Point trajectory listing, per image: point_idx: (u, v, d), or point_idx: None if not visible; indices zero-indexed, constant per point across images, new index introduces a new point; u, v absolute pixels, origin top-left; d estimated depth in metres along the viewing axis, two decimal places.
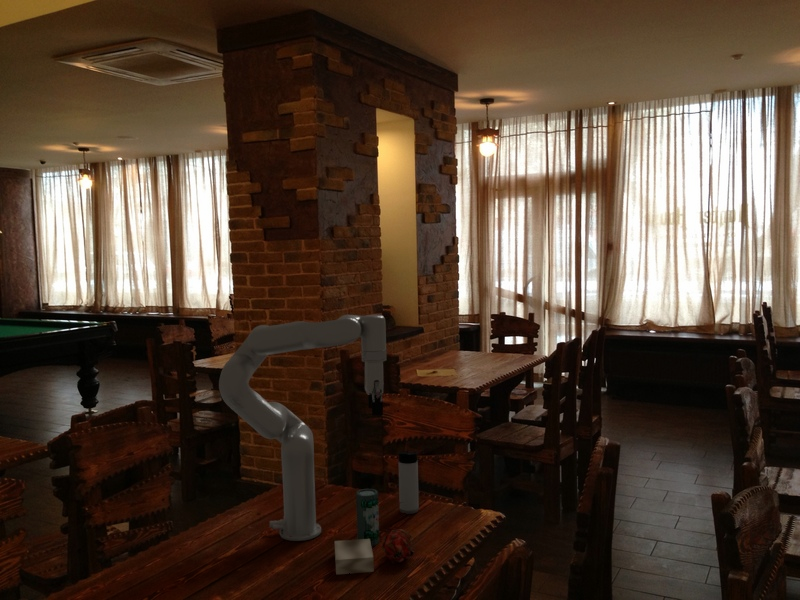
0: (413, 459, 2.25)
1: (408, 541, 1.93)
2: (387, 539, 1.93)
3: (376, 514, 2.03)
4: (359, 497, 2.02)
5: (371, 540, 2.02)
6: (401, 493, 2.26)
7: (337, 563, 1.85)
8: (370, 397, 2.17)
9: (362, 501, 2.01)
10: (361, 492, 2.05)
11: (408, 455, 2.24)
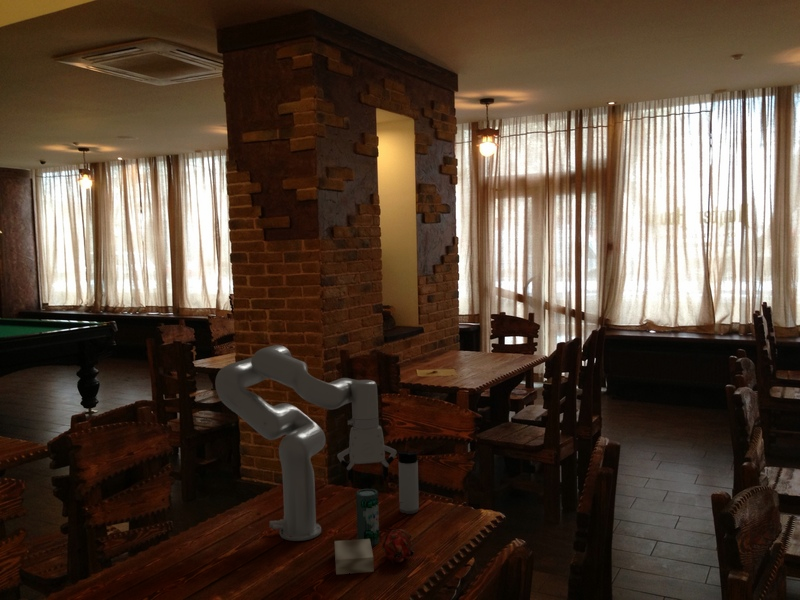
0: (413, 459, 2.25)
1: (408, 541, 1.93)
2: (387, 539, 1.93)
3: (376, 514, 2.03)
4: (359, 497, 2.02)
5: (371, 540, 2.02)
6: (401, 493, 2.26)
7: (337, 563, 1.85)
8: (352, 471, 2.02)
9: (362, 501, 2.01)
10: (361, 492, 2.05)
11: (408, 455, 2.24)
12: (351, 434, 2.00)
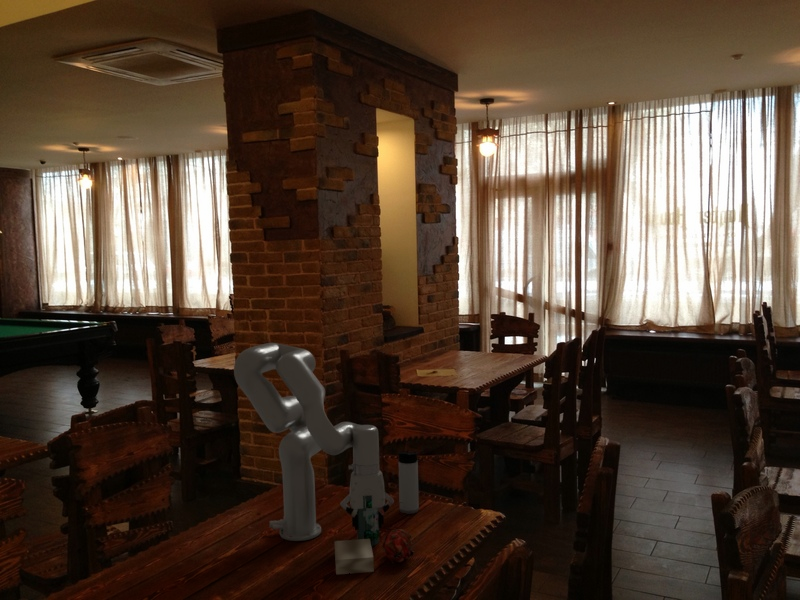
0: (413, 459, 2.25)
1: (408, 541, 1.93)
2: (387, 539, 1.93)
3: (376, 514, 2.03)
4: None
5: (371, 540, 2.02)
6: (401, 493, 2.26)
7: (337, 563, 1.85)
8: None
9: None
10: None
11: (408, 455, 2.24)
12: (352, 479, 2.01)
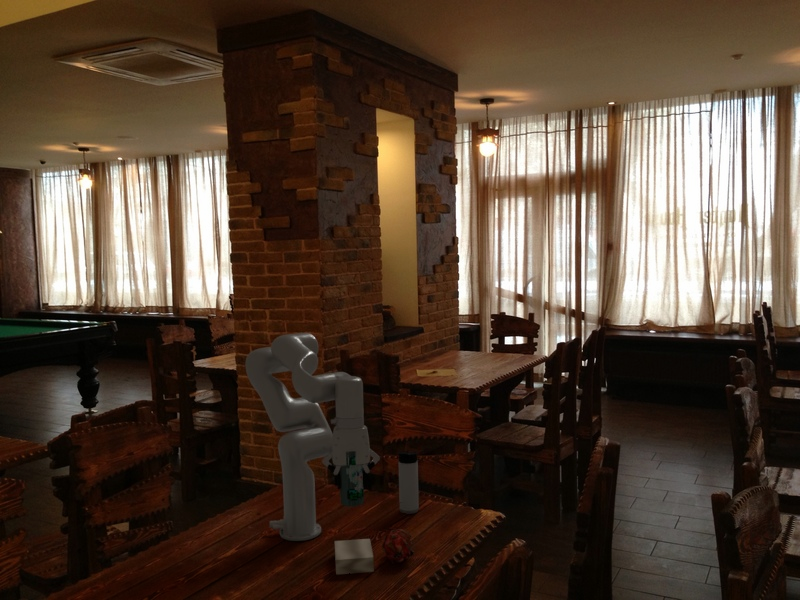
0: (413, 459, 2.25)
1: (408, 541, 1.93)
2: (387, 539, 1.93)
3: (360, 472, 1.88)
4: None
5: (355, 500, 1.88)
6: (401, 493, 2.26)
7: (337, 563, 1.85)
8: (339, 476, 1.89)
9: None
10: None
11: (408, 455, 2.24)
12: (334, 434, 1.87)
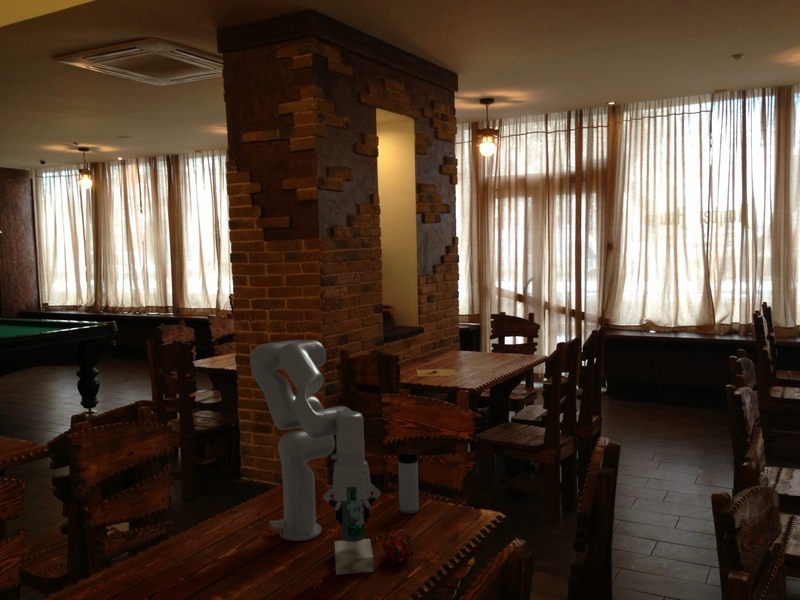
0: (413, 459, 2.25)
1: (408, 541, 1.93)
2: (387, 539, 1.93)
3: (361, 507, 1.89)
4: None
5: (356, 535, 1.88)
6: (401, 493, 2.26)
7: (337, 563, 1.85)
8: (340, 512, 1.89)
9: None
10: None
11: (408, 455, 2.24)
12: (335, 470, 1.87)
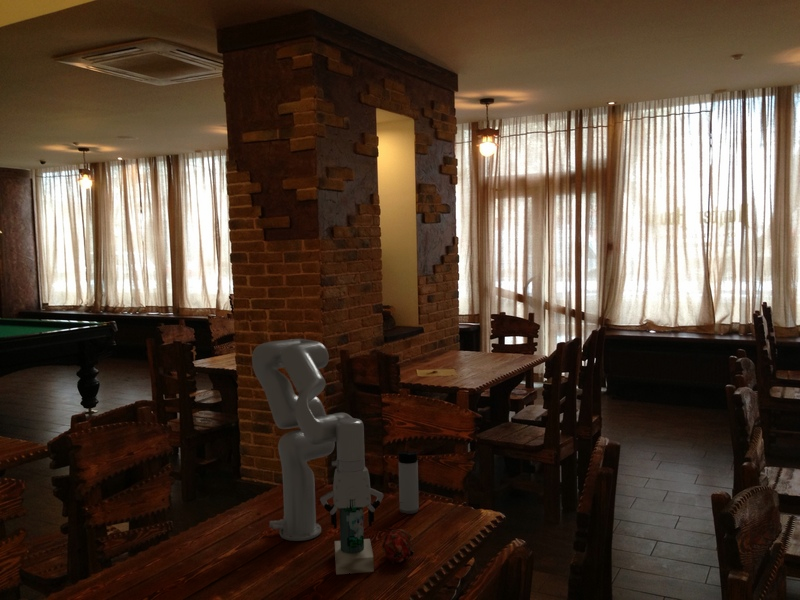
0: (413, 459, 2.25)
1: (408, 541, 1.93)
2: (387, 539, 1.93)
3: (360, 519, 1.89)
4: None
5: (355, 547, 1.89)
6: (401, 493, 2.26)
7: (337, 563, 1.85)
8: None
9: None
10: None
11: (408, 455, 2.24)
12: (335, 477, 1.87)
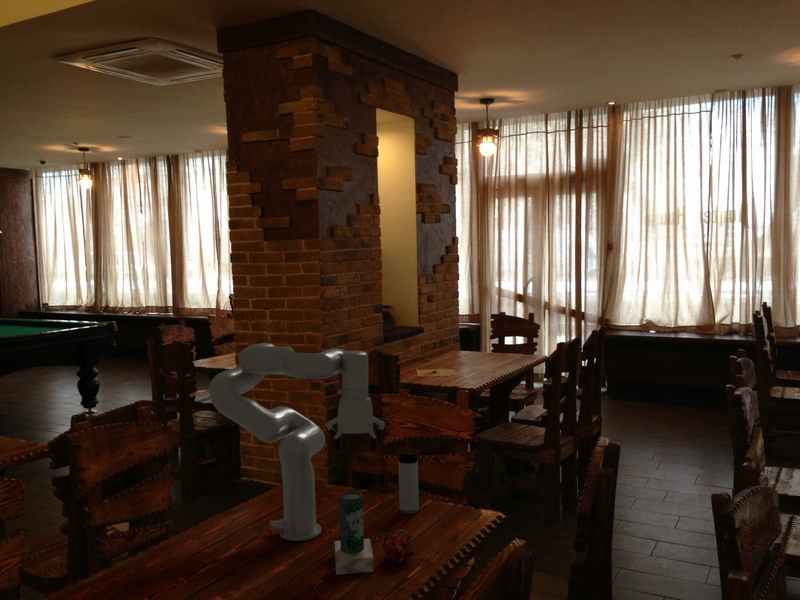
0: (413, 459, 2.25)
1: (408, 541, 1.93)
2: (387, 539, 1.93)
3: (360, 519, 1.89)
4: (342, 501, 1.88)
5: (355, 547, 1.89)
6: (401, 493, 2.26)
7: (337, 563, 1.85)
8: (340, 440, 2.03)
9: (345, 505, 1.88)
10: (345, 495, 1.91)
11: (408, 455, 2.24)
12: (340, 403, 2.01)
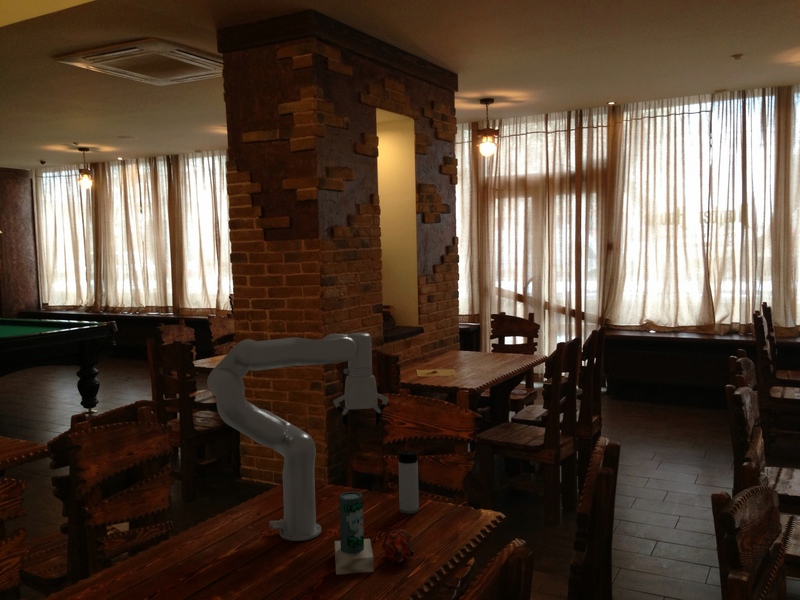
0: (413, 459, 2.25)
1: (408, 541, 1.93)
2: (387, 539, 1.93)
3: (360, 519, 1.89)
4: (342, 501, 1.88)
5: (355, 547, 1.89)
6: (401, 493, 2.26)
7: (337, 563, 1.85)
8: (347, 416, 2.19)
9: (345, 505, 1.88)
10: (344, 495, 1.91)
11: (408, 455, 2.24)
12: (346, 381, 2.17)
